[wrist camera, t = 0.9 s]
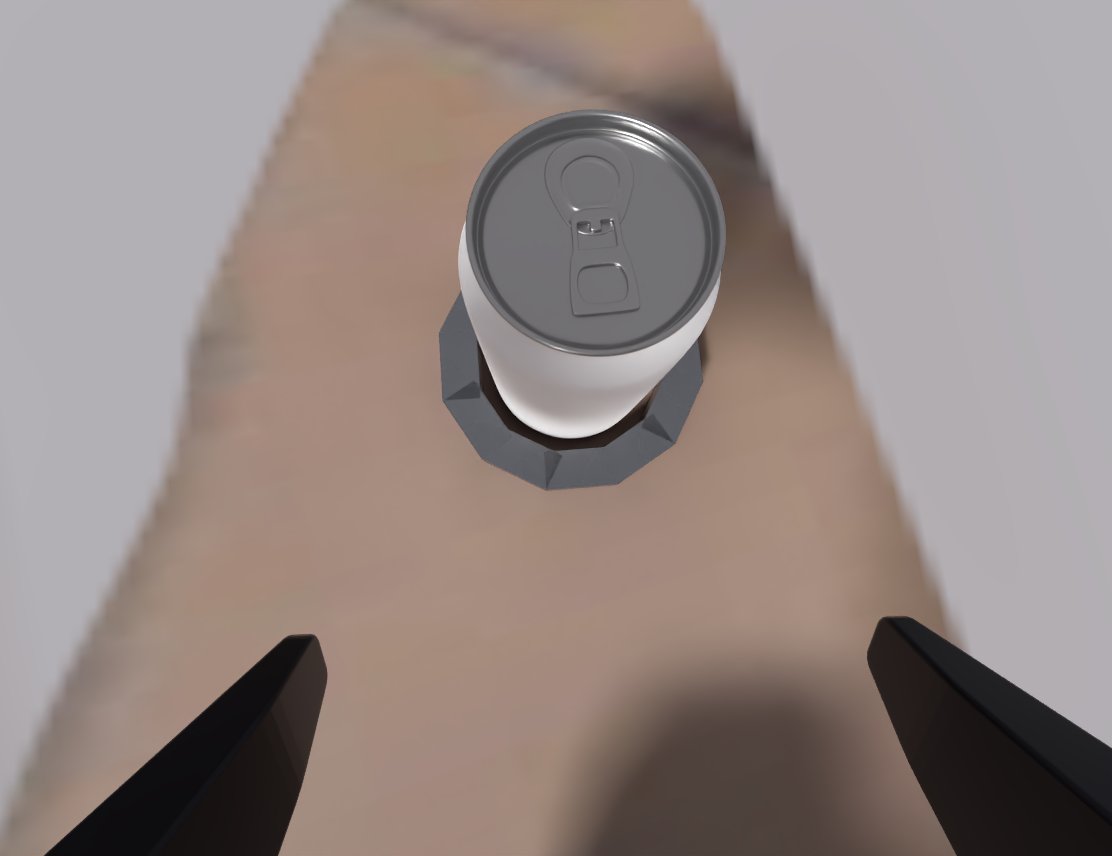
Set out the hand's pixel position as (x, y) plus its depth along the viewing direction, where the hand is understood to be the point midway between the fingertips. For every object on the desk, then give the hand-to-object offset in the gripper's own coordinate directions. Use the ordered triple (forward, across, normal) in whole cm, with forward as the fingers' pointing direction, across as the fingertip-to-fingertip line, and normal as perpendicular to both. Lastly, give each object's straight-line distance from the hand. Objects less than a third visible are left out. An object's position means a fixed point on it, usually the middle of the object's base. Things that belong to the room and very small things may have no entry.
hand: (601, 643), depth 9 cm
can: (+16, 0, +2) cm, 16 cm away
